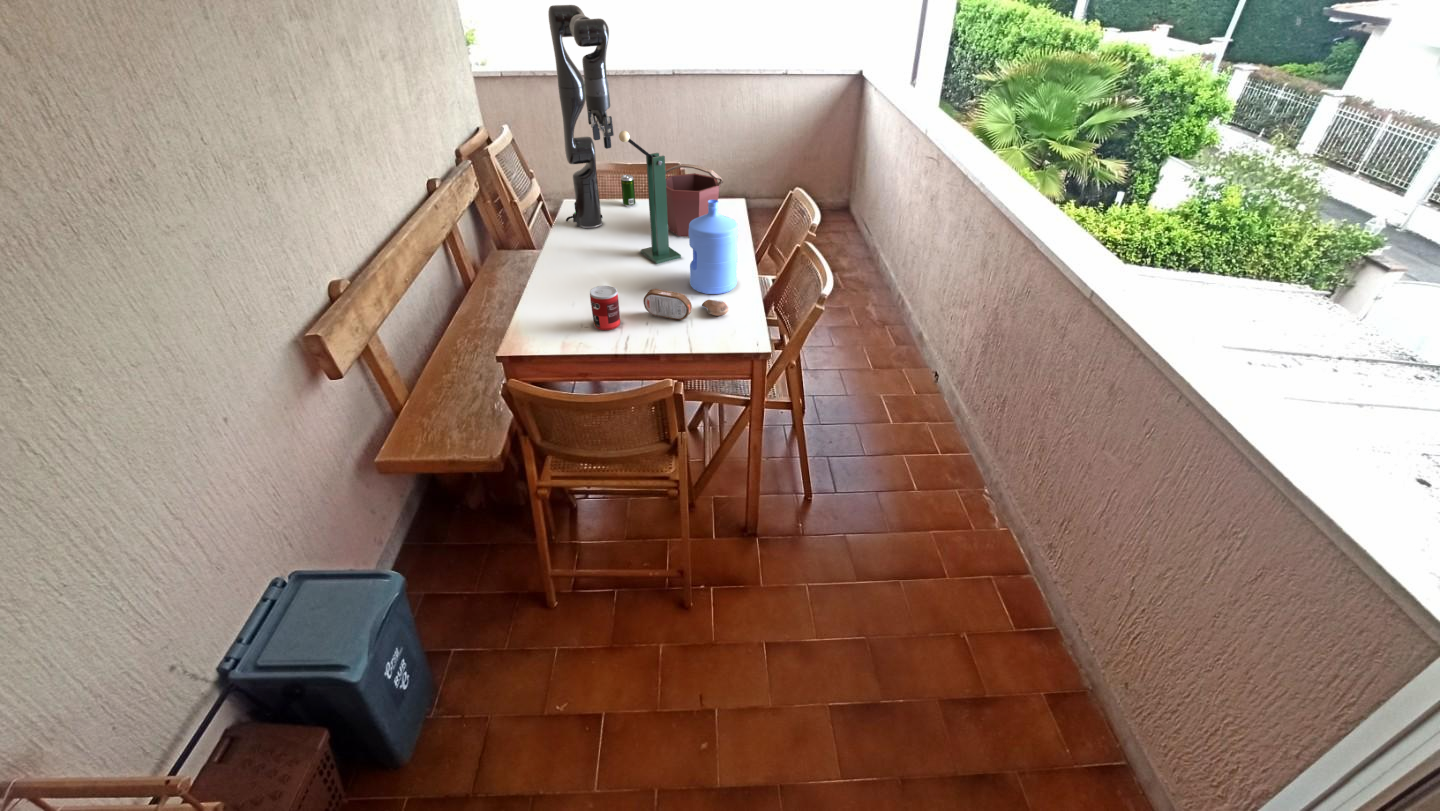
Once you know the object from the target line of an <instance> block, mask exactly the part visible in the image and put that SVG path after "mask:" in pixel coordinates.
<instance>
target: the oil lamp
mask: <svg viewBox="0 0 1440 811" xmlns="http://www.w3.org/2000/svg"><path fill="white" fill-rule="evenodd" d="M701 306H702V307H703V308H706V309H707V311H706V313H707V314H709V315H712V316H716V317H721V316H724V315H726V314H727V313H728V312H729V305H728V304H727V303H726V302H725V301H724V300H717V299H707V300H705V301H703V302H702V304H701Z"/></svg>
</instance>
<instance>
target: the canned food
mask: <svg viewBox="0 0 1440 811" xmlns="http://www.w3.org/2000/svg"><path fill="white" fill-rule="evenodd" d="M589 299H590V305H591V313H592V322H593V325H594V327H595V329H597V330H600V331H612V330H615V329H617V328H618V327H620V325H621V313H620V304H619V303H620V302H619V292H618V290H617V288H616V287H615V286H611V285H597V286H595V287H593V288H591V289H590V291H589Z"/></svg>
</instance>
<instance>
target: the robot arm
mask: <svg viewBox="0 0 1440 811" xmlns="http://www.w3.org/2000/svg"><path fill="white" fill-rule="evenodd" d="M547 12H548V15H547V16H548V24H549V30H550V35H551V42H552V46H553V52H554V60H555V69H556V80H557V87H558V88H557V89H558V96H559V103H560V109H561V116H562V117H561V118H562V126H563V128H562V129H563V143H564V154H565V159H566V161H567V163H568V164H569V165H580V164H581V165H582V164H585V165H584V166H583V167H581V168H580V169H579V170H576V171H575V172H574V173H573V174H572V183H573V190H574V198H575V201H574V203H573V206H574V212H573V214H572V215H570V216H568V217H566V219H565V221H566V222H569V220H570V219H572V222H573V223H576V226H577V227H578V228H582V229H596V228H599V227H601V226H602V225H603V220H602V219H604V217H603V214H602V209H601V201H600V192H599V181H598V172H597V160H596V159H597V157H596V156H597V155H596V145H595V142H594V141H599V140H601V133H602V136H603V147H604V149H606V150H607V149H611V148H612V139H611V137H614V135H615V134H614V125H613V117H612V115H609V116H608V112H607V110H608V109H610V108H611V98H610V97H611V96H610V86H609V80H608V74H607V50H608V45H609V39H610V29H609V26H608V23H607V22H606V21H605V19H604V18H589V17H588V16H586V14H585V13H584V12H583V10H582V8H581V7H579V6H578V5H575V4H556V5H555V4H554V5H550V6H549V8H548V11H547ZM563 38H573V40H574V42H575V44H576V45H577V46H578V47H582V48H588V47H595V50H594V51H592V52H590V53H587V54H585V55H584V56H583V57H582V60H581V61H582V62H581V63H582V71H583V75H582V73H581V72H580V70H579V68H578V67H577V66H576V65H575V63H574V62H573V60H572V59H571V57H570V55H569V53H568V52H567V50H566V48H565V45H564V41H563ZM585 105H586V112H587V123H588V125H589V126H590V128H591V129H592V137H591V136H578V137H575V136H574V134H575V127H576V124H577V122H578V119H579V117H580V115H581V113H582V110H583V109H584V107H585Z"/></svg>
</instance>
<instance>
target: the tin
mask: <svg viewBox="0 0 1440 811" xmlns="http://www.w3.org/2000/svg"><path fill="white" fill-rule="evenodd" d="M642 302H643V306H644V309H645V310H646V312H648V313H649V314H650V315H652V316H653V317H659V318H665V319H669V320H675V321H683V320H685V319H686V318H687V317H688V316H689V315H690V314H691V312H692V309H693V306H692V302H691V300H690V299H689V297H688V296H686V295H685V294H683V293H681V292H676V291H670V290H667V289H666V290H665V289H659V288H652V289H649V290H648V291H647V292H646V294H645V295H644V297H643V300H642Z"/></svg>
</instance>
